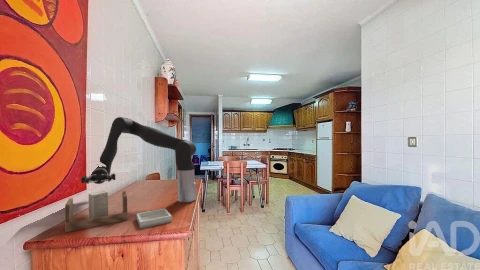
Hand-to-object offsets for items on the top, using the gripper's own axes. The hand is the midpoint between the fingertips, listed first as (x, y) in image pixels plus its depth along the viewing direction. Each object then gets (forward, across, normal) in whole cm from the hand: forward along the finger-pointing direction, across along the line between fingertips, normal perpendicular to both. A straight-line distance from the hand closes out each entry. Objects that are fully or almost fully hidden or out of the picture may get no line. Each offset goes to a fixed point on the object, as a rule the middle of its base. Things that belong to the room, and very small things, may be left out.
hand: (98, 180), depth 103 cm
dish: (+25, +20, +15) cm, 36 cm away
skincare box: (+11, 0, +16) cm, 19 cm away
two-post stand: (+11, 0, +16) cm, 19 cm away
